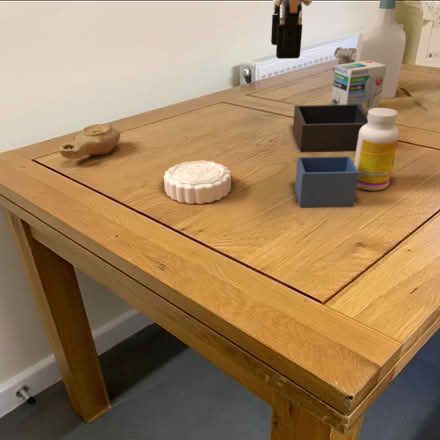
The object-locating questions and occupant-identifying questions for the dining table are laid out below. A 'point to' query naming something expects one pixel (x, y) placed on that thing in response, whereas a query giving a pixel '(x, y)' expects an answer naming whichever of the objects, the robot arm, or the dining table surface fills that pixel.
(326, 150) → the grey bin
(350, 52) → the elephant statuette
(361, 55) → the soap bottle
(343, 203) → the blue bin
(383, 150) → the supplement bottle
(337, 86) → the light bulb box
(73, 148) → the oil lamp
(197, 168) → the mooncake
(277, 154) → the dining table surface
